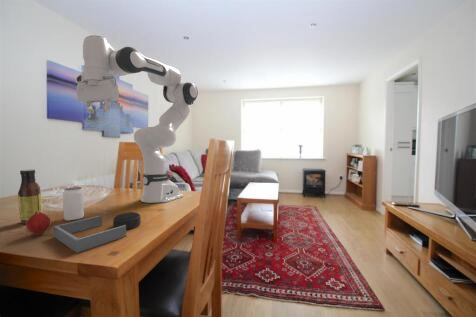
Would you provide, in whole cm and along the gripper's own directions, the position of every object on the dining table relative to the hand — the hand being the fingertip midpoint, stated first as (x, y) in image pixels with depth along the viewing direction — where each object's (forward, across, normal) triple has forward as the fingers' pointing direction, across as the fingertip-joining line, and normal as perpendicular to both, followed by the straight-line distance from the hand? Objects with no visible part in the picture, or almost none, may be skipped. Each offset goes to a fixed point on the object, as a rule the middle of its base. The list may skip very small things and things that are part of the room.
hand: (98, 112), depth 90 cm
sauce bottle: (+42, +16, +17) cm, 48 cm away
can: (+42, +6, +8) cm, 44 cm away
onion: (+42, -1, +22) cm, 48 cm away
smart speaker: (+43, -20, +5) cm, 48 cm away
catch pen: (+42, -18, +17) cm, 49 cm away
